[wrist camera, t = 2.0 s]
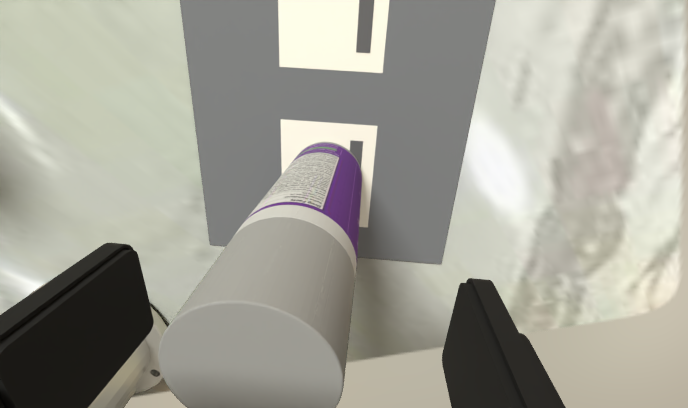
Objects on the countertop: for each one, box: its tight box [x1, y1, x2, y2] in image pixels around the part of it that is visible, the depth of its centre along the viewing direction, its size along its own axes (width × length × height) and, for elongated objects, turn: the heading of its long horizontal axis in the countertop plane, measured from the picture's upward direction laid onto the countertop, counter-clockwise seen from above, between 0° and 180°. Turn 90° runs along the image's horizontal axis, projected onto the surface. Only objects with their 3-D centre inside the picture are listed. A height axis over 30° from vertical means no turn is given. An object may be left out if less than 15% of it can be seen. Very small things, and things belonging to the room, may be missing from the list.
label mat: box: [180, 0, 495, 264], centre depth 19 cm, size 22×17×1 cm
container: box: [158, 142, 362, 408], centre depth 15 cm, size 5×5×15 cm
